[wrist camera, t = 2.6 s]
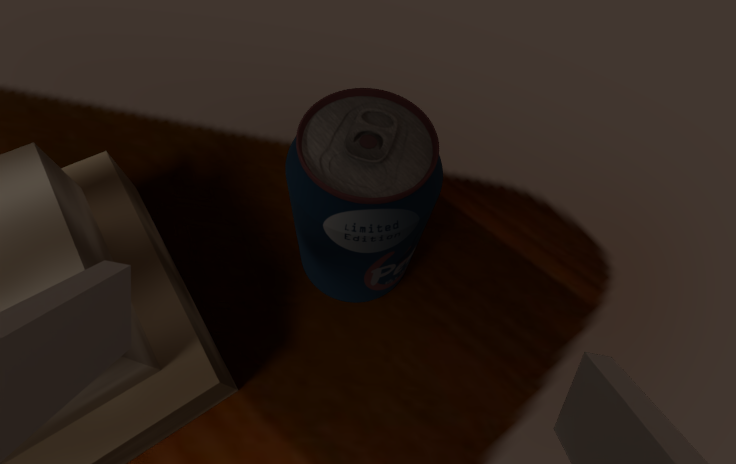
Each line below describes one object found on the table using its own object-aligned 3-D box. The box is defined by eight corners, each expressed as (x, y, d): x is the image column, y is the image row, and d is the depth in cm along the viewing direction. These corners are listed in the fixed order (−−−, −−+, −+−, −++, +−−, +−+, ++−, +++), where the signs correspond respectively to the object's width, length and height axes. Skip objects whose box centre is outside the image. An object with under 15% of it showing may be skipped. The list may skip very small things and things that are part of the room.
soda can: (388, 323, 24) (432, 238, 13) (285, 288, 25) (248, 179, 14) (416, 231, 27) (469, 103, 17) (324, 201, 28) (318, 59, 17)
